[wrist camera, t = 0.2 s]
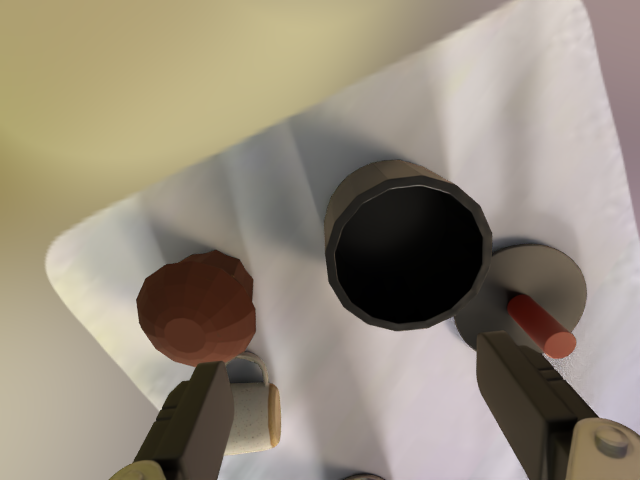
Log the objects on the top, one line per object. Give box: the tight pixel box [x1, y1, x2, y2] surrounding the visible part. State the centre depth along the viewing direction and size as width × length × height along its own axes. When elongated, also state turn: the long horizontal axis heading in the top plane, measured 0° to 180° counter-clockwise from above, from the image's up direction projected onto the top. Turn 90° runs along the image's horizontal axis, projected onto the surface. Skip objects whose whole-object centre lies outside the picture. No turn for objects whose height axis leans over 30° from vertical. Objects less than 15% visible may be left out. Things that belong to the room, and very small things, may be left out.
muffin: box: [136, 250, 256, 367], centre depth 38 cm, size 12×11×10 cm
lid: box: [454, 244, 587, 359], centre depth 40 cm, size 15×15×9 cm
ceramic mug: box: [224, 352, 281, 456], centre depth 44 cm, size 11×8×8 cm
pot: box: [324, 160, 492, 331], centre depth 36 cm, size 14×14×10 cm
